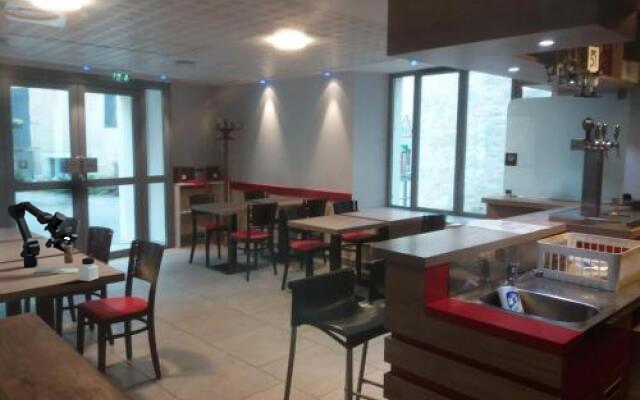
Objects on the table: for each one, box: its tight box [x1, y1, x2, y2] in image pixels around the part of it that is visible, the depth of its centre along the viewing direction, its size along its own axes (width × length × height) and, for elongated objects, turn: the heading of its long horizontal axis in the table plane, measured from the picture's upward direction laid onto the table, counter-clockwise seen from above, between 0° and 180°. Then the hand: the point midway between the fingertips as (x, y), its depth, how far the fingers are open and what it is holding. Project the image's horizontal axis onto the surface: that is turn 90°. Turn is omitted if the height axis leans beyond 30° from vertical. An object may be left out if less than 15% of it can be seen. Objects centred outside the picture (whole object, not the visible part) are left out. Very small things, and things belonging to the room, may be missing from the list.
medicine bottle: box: [77, 256, 99, 282], centre depth 272 cm, size 7×7×12 cm
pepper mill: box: [63, 244, 74, 265], centre depth 289 cm, size 4×4×10 cm
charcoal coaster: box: [33, 267, 58, 274], centre depth 291 cm, size 10×10×1 cm
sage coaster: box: [57, 267, 79, 275], centre depth 289 cm, size 10×10×1 cm
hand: (70, 251), depth 288 cm, fingers closed on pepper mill, 4 cm apart
